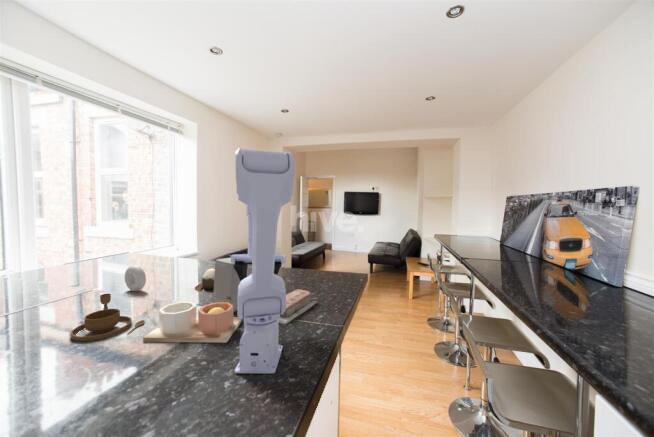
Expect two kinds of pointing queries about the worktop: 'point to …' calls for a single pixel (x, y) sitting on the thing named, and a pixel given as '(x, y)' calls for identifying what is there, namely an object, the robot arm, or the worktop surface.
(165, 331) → the tube white
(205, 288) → the skull
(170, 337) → the rack board
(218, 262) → the skincare box
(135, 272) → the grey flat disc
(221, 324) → the terracotta octagonal bowl
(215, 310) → the ball
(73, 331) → the place setting
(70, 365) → the worktop surface
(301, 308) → the packaged product
